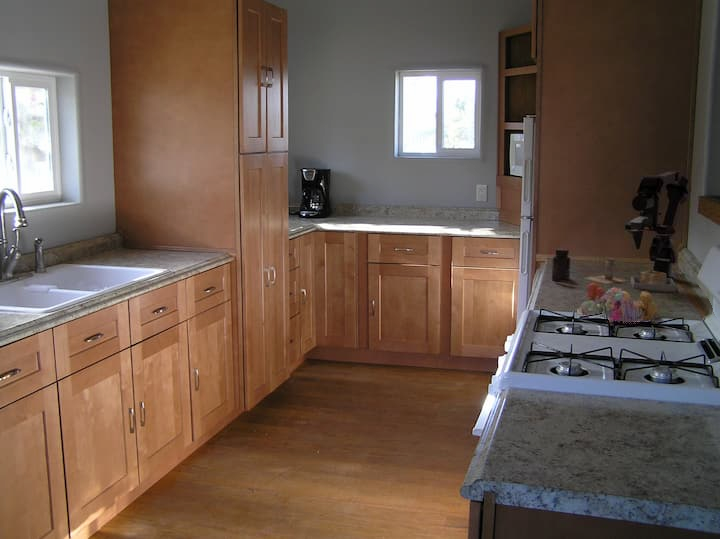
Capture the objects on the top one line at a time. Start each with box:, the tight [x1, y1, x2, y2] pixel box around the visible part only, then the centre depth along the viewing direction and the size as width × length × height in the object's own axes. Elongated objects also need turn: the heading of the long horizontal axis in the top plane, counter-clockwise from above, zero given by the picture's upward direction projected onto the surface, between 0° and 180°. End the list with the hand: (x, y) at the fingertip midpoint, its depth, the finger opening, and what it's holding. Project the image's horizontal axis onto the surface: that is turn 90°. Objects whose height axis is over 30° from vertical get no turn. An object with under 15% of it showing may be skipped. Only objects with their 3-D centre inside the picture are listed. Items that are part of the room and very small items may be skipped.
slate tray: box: [630, 276, 677, 293], centre depth 286 cm, size 14×14×2 cm
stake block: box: [582, 257, 629, 284], centre depth 297 cm, size 12×12×9 cm
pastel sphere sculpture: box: [575, 282, 662, 324], centre depth 243 cm, size 25×24×9 cm
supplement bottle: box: [551, 248, 572, 283], centre depth 297 cm, size 7×7×12 cm
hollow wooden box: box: [639, 270, 667, 285], centre depth 286 cm, size 6×8×5 cm
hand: (647, 250), depth 294 cm, fingers open, 9 cm apart
